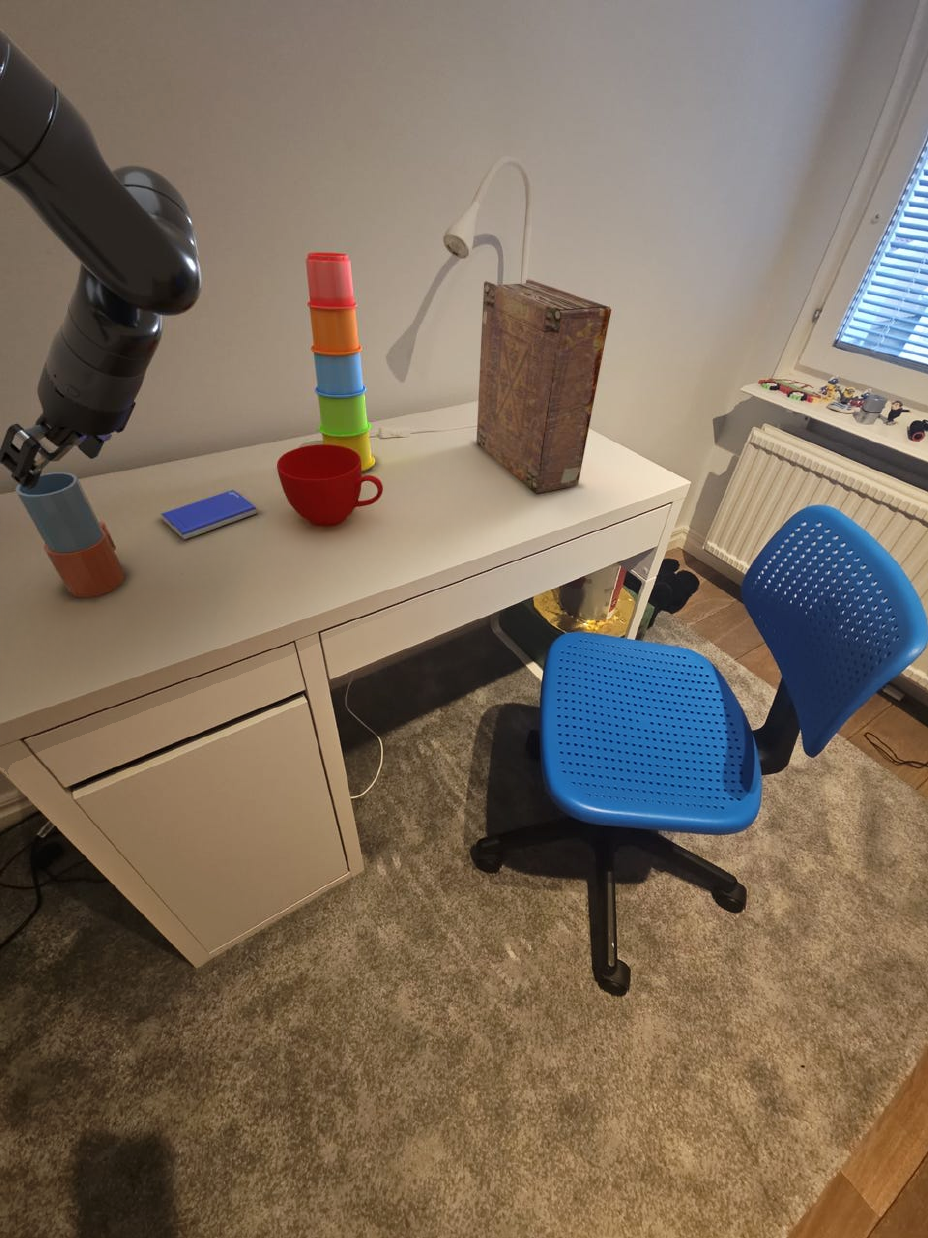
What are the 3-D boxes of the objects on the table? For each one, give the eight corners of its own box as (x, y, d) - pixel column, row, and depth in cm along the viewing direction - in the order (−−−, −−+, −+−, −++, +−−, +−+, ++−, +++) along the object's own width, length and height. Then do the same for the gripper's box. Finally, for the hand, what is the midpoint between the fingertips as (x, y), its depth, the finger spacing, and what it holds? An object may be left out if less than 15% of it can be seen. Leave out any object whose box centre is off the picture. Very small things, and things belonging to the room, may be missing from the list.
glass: (88, 553, 69) (59, 496, 63) (36, 552, 68) (3, 495, 63) (111, 526, 74) (86, 472, 68) (63, 526, 73) (35, 471, 68)
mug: (110, 597, 73) (88, 554, 68) (57, 597, 73) (32, 554, 68) (142, 556, 81) (124, 514, 76) (94, 555, 80) (73, 514, 76)
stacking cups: (311, 464, 106) (277, 252, 83) (351, 449, 112) (330, 247, 89) (345, 481, 101) (319, 261, 78) (386, 464, 107) (372, 255, 84)
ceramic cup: (368, 548, 84) (362, 490, 77) (272, 529, 87) (259, 471, 81) (399, 509, 93) (397, 454, 87) (312, 493, 97) (303, 439, 90)
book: (475, 442, 116) (483, 280, 97) (513, 436, 119) (527, 278, 100) (537, 494, 99) (561, 310, 79) (578, 486, 102) (611, 306, 83)
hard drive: (232, 488, 94) (160, 512, 87) (255, 505, 90) (181, 532, 83) (234, 496, 95) (163, 520, 88) (257, 514, 91) (184, 540, 84)
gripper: (117, 328, 57) (79, 419, 67) (-10, 364, 47) (-34, 466, 57) (175, 386, 59) (129, 467, 69) (65, 433, 49) (30, 519, 59)
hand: (56, 466), depth 63 cm, fingers open, 8 cm apart
